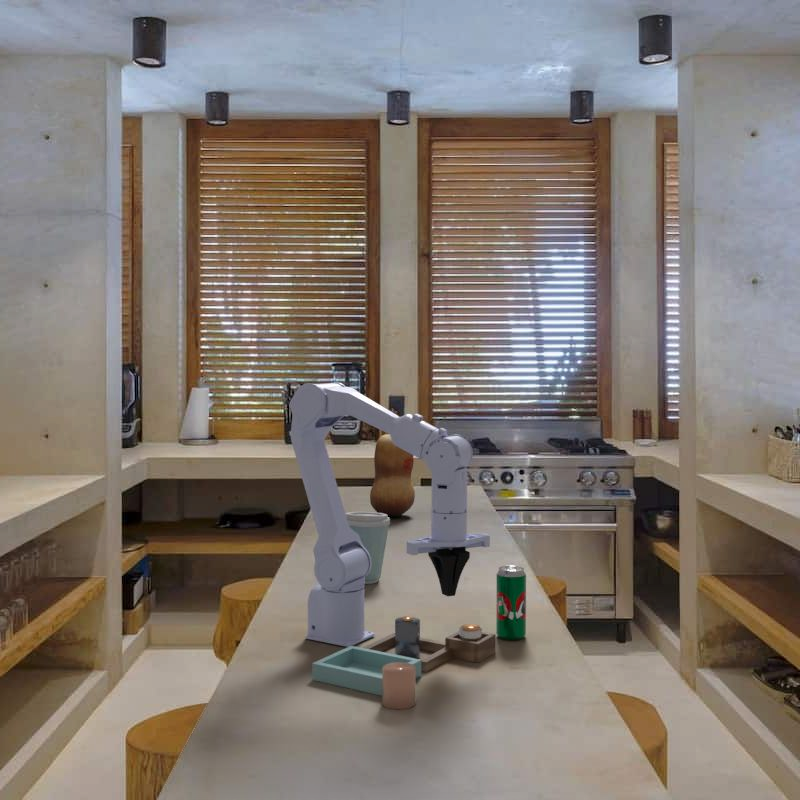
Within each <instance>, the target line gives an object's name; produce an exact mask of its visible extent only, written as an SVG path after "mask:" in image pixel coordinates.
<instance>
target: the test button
mask: <svg viewBox="0 0 800 800" xmlns="http://www.w3.org/2000/svg"><path fill="white" fill-rule="evenodd" d="M482 629H483V628H482V627H481V626H480V625H479V624H474V623H473V624H472V623H469V624H463V625H461V626H460V627H459V630H458V631H459V639H463V640H469V641H474V642H477V641H479V640H481V639H482V632H483V630H482Z"/></svg>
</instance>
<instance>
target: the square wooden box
mask: <svg viewBox="0 0 800 800" xmlns="http://www.w3.org/2000/svg"><path fill="white" fill-rule="evenodd" d="M496 635H497V634H494V633H490V632H484V631H482V639H481V640H479V641H477V642H474V641H469V640H463V639H459V630H458V631H456V632H454V633H452V634H451V635H448V636H446V637H445V640H444V642H445V647H447V648H452V658H451V659H456V660H457V659H458V660H462V661H463V660H464V661H468V662H471V663H472V662H473V663H477V664H478V663H480V662H482V661H484V660H486V659H487V658H489V657H490V656H493V655H494V654H495V653H496Z"/></svg>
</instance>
